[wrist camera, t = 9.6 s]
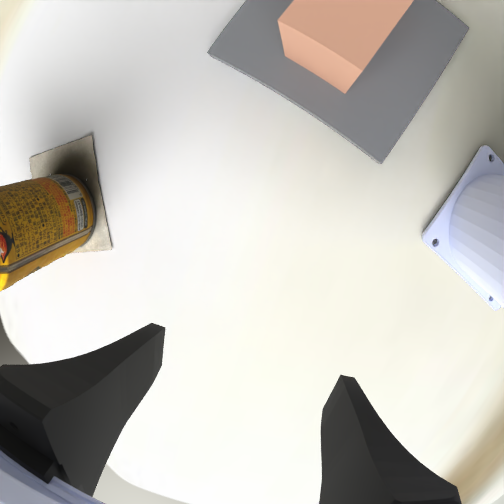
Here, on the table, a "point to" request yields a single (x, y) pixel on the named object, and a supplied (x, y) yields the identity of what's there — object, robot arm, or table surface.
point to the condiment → (52, 212)
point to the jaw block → (338, 35)
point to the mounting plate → (368, 82)
